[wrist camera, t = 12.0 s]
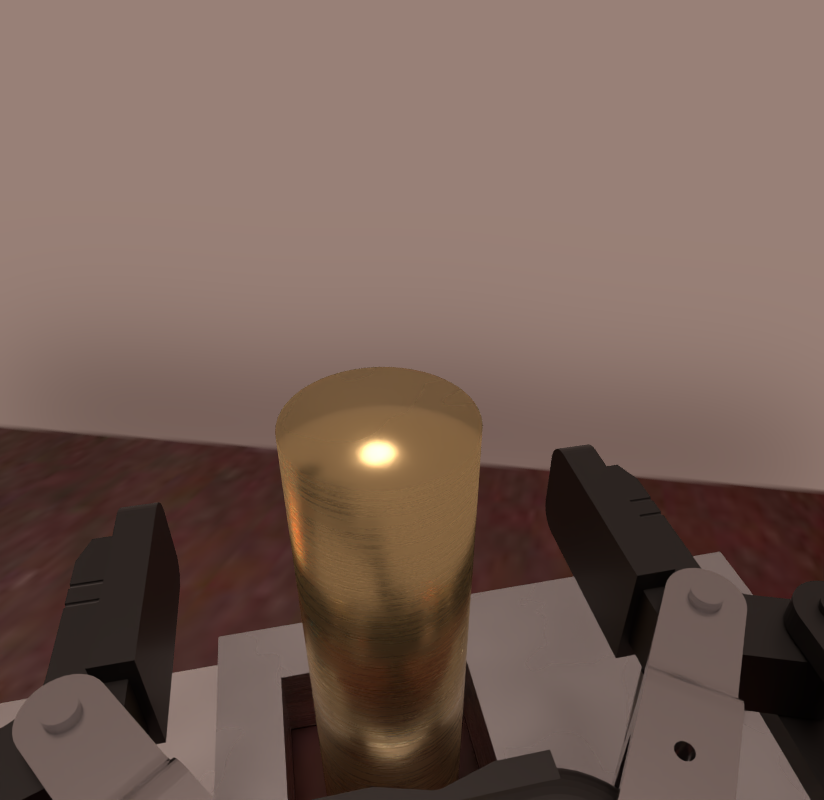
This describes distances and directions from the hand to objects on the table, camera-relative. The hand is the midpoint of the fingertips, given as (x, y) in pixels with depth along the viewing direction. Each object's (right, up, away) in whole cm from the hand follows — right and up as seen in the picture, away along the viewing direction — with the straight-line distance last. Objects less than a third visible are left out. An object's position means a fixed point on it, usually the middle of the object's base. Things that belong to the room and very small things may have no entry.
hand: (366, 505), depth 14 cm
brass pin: (0, -8, +3) cm, 9 cm away
